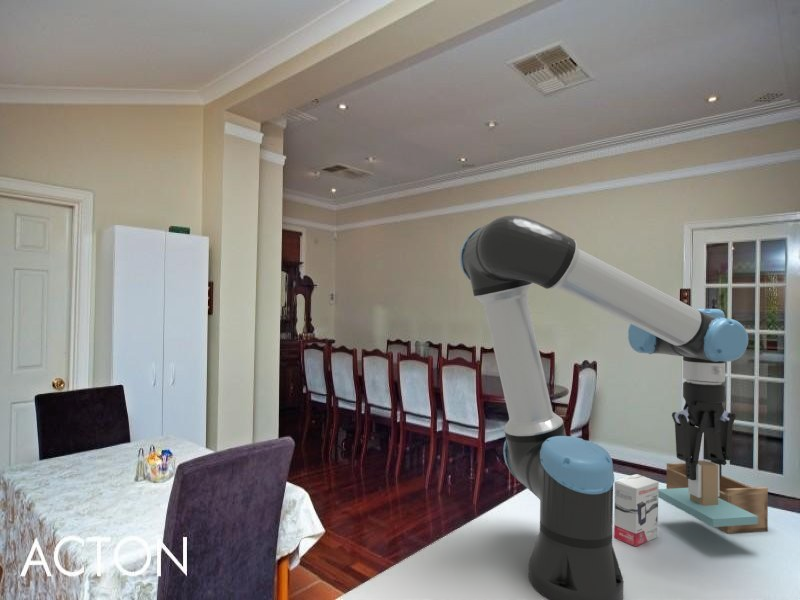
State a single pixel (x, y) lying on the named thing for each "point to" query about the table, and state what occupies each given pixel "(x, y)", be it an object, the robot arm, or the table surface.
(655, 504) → the ink box
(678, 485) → the box
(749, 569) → the table surface
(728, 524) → the lid
